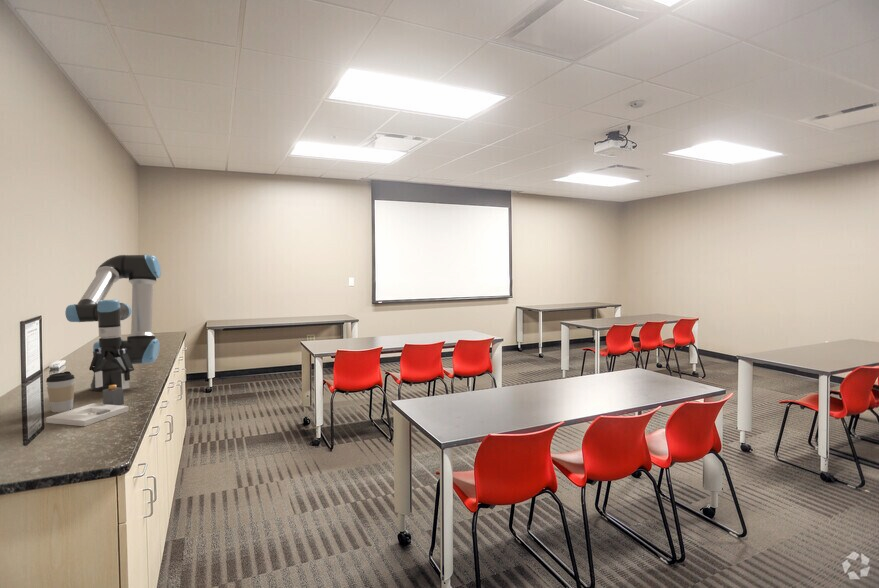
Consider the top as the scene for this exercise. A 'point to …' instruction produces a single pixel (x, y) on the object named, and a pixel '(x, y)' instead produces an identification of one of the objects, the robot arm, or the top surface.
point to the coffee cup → (61, 391)
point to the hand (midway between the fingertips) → (112, 387)
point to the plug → (113, 395)
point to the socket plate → (87, 414)
